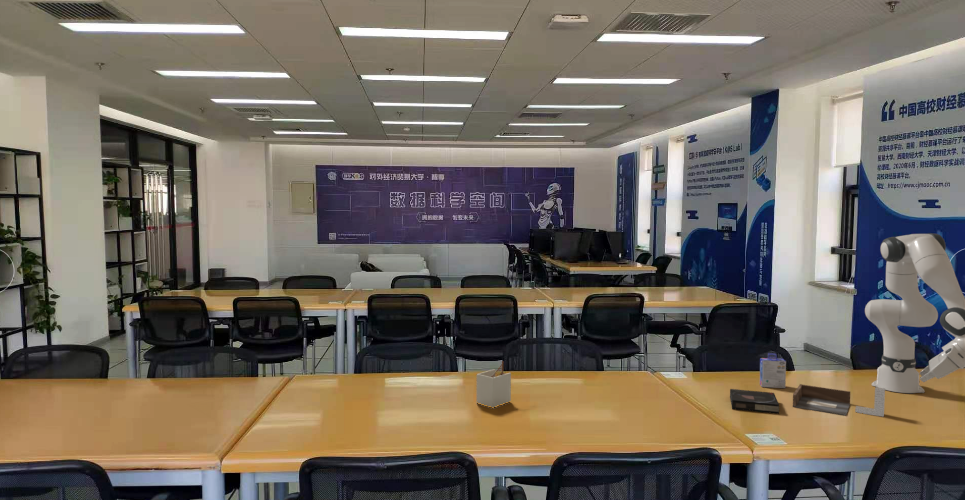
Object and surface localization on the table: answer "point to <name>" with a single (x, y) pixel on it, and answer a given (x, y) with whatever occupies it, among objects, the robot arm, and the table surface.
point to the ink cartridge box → (772, 372)
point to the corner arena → (822, 399)
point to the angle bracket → (875, 404)
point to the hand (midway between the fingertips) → (921, 377)
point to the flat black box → (754, 401)
